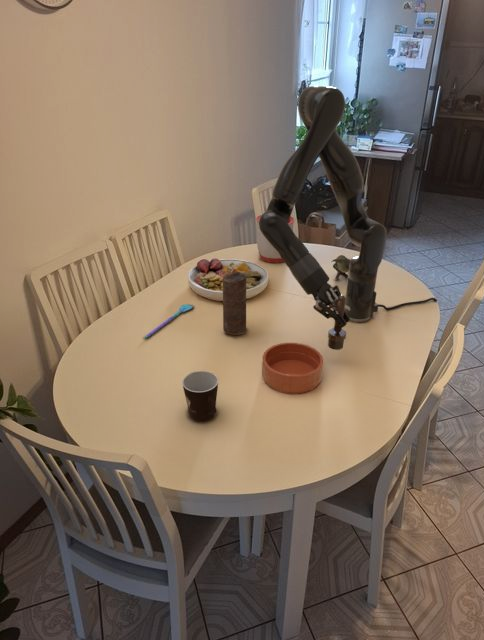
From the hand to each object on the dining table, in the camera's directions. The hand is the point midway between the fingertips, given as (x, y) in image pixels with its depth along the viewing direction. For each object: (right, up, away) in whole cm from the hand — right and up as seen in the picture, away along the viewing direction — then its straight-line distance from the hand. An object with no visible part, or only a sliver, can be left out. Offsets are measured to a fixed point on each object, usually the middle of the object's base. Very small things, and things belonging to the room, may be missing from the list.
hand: (345, 323), depth 136 cm
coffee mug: (-38, -24, -14) cm, 47 cm away
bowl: (-36, +16, +49) cm, 63 cm away
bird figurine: (+8, +21, +58) cm, 62 cm away
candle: (-32, -2, +21) cm, 38 cm away
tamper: (-2, -6, +5) cm, 8 cm away
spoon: (-54, +2, +26) cm, 60 cm away
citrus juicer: (-18, +31, +73) cm, 82 cm away
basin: (-15, -15, +2) cm, 21 cm away
